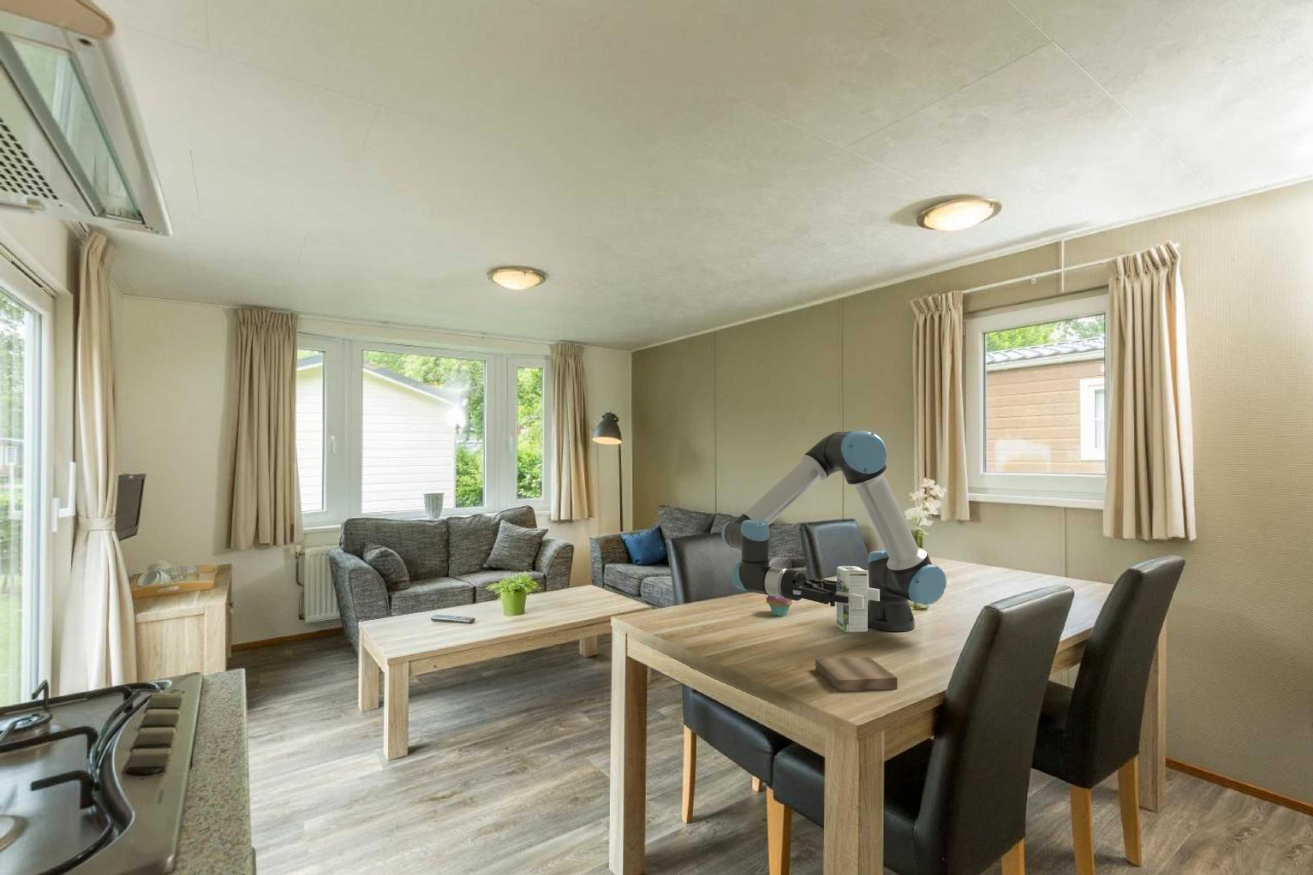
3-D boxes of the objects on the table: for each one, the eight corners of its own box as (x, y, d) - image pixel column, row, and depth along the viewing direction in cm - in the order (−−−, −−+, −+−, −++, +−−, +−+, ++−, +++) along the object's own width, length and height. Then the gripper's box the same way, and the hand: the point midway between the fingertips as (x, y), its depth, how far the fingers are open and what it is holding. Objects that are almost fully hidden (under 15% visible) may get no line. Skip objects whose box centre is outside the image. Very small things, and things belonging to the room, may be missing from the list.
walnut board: (868, 666, 152) (868, 656, 152) (897, 688, 138) (897, 677, 138) (815, 669, 151) (815, 659, 151) (838, 691, 137) (838, 680, 137)
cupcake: (792, 618, 196) (792, 581, 196) (765, 616, 198) (765, 580, 198) (791, 611, 204) (791, 575, 205) (766, 610, 206) (766, 574, 206)
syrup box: (835, 625, 148) (835, 566, 148) (859, 624, 148) (858, 565, 148) (844, 632, 142) (844, 570, 142) (869, 631, 142) (868, 570, 143)
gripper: (807, 591, 165) (889, 606, 149) (764, 605, 150) (851, 623, 134) (806, 563, 165) (889, 575, 149) (764, 575, 150) (850, 590, 134)
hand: (871, 598), depth 142 cm, fingers closed on syrup box, 8 cm apart
